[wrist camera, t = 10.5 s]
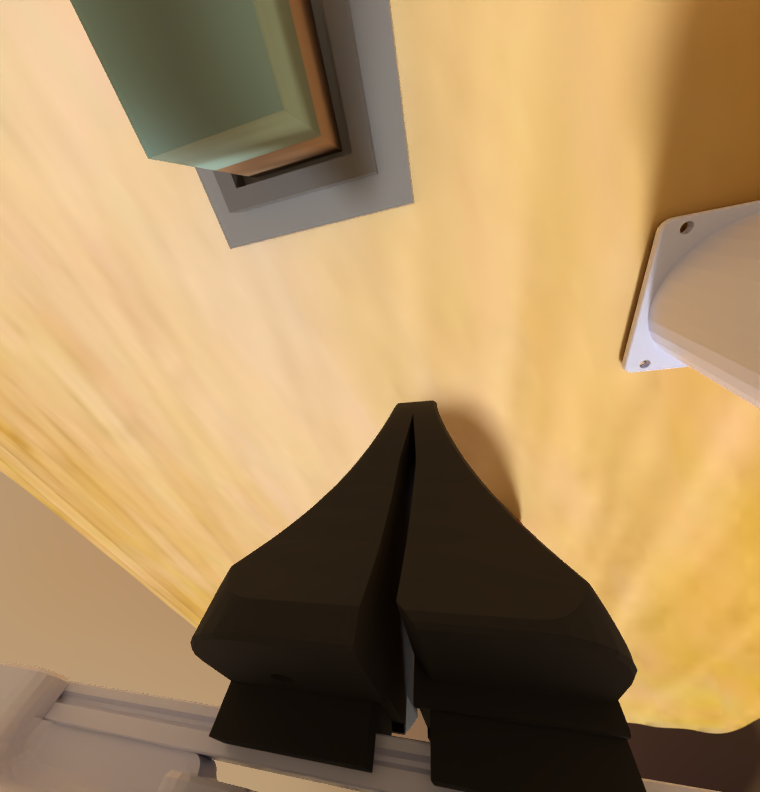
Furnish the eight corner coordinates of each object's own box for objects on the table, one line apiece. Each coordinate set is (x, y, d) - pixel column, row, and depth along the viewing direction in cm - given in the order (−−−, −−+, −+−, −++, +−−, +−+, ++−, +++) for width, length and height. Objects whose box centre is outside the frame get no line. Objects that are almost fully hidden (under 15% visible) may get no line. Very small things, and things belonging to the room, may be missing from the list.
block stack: (309, -3, 10) (190, -222, 5) (342, 150, 13) (284, 109, 7) (208, 41, 11) (19, -103, 6) (255, 177, 14) (148, 158, 8)
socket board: (370, -163, 9) (356, -254, 7) (414, 203, 14) (412, 202, 13) (128, -31, 11) (71, -76, 10) (241, 246, 17) (219, 251, 15)
